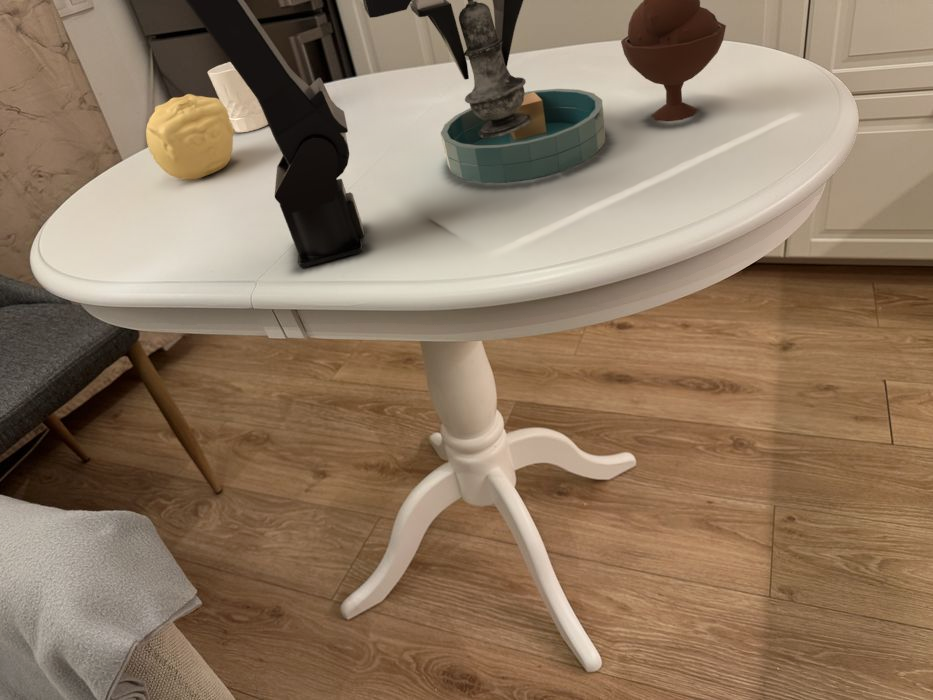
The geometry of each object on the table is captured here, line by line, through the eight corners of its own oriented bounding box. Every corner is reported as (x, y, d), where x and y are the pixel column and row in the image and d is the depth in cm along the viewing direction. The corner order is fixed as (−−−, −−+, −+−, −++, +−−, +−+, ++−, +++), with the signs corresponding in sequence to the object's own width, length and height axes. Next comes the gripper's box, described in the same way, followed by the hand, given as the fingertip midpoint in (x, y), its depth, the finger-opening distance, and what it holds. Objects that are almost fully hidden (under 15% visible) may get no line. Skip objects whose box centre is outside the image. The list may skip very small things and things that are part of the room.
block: (515, 140, 85) (510, 108, 82) (508, 131, 88) (503, 99, 86) (546, 132, 85) (542, 100, 82) (538, 123, 88) (534, 91, 86)
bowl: (463, 202, 74) (455, 162, 71) (439, 149, 89) (431, 115, 87) (629, 158, 75) (627, 117, 72) (577, 113, 90) (573, 78, 87)
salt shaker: (468, 132, 68) (428, 3, 62) (521, 110, 69) (487, -19, 63) (487, 143, 63) (446, 5, 57) (544, 120, 64) (510, -20, 58)
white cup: (223, 136, 117) (198, 76, 111) (245, 120, 123) (222, 62, 117) (263, 131, 114) (239, 69, 109) (283, 115, 120) (262, 55, 115)
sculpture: (188, 192, 96) (152, 115, 90) (152, 181, 104) (118, 109, 98) (256, 160, 102) (228, 85, 96) (218, 151, 110) (189, 82, 104)
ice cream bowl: (744, 113, 79) (749, -34, 70) (660, 143, 76) (654, -5, 68) (687, 96, 87) (684, -38, 78) (609, 122, 85) (599, -12, 76)
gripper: (533, -145, 63) (553, 35, 72) (335, -97, 62) (380, 80, 71) (572, -152, 54) (590, 55, 63) (341, -97, 53) (392, 106, 62)
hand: (484, 73), depth 65 cm, fingers closed on salt shaker, 3 cm apart
